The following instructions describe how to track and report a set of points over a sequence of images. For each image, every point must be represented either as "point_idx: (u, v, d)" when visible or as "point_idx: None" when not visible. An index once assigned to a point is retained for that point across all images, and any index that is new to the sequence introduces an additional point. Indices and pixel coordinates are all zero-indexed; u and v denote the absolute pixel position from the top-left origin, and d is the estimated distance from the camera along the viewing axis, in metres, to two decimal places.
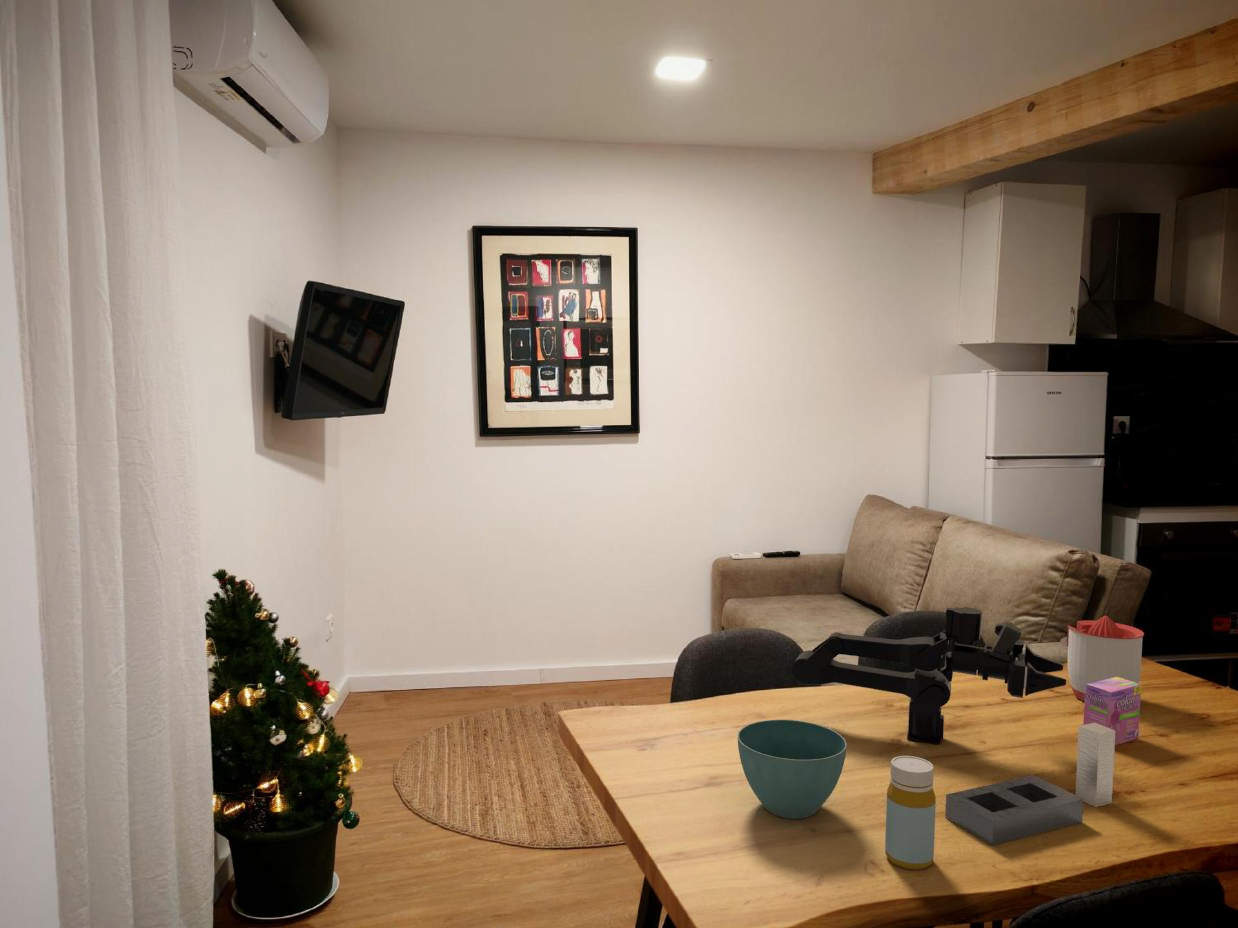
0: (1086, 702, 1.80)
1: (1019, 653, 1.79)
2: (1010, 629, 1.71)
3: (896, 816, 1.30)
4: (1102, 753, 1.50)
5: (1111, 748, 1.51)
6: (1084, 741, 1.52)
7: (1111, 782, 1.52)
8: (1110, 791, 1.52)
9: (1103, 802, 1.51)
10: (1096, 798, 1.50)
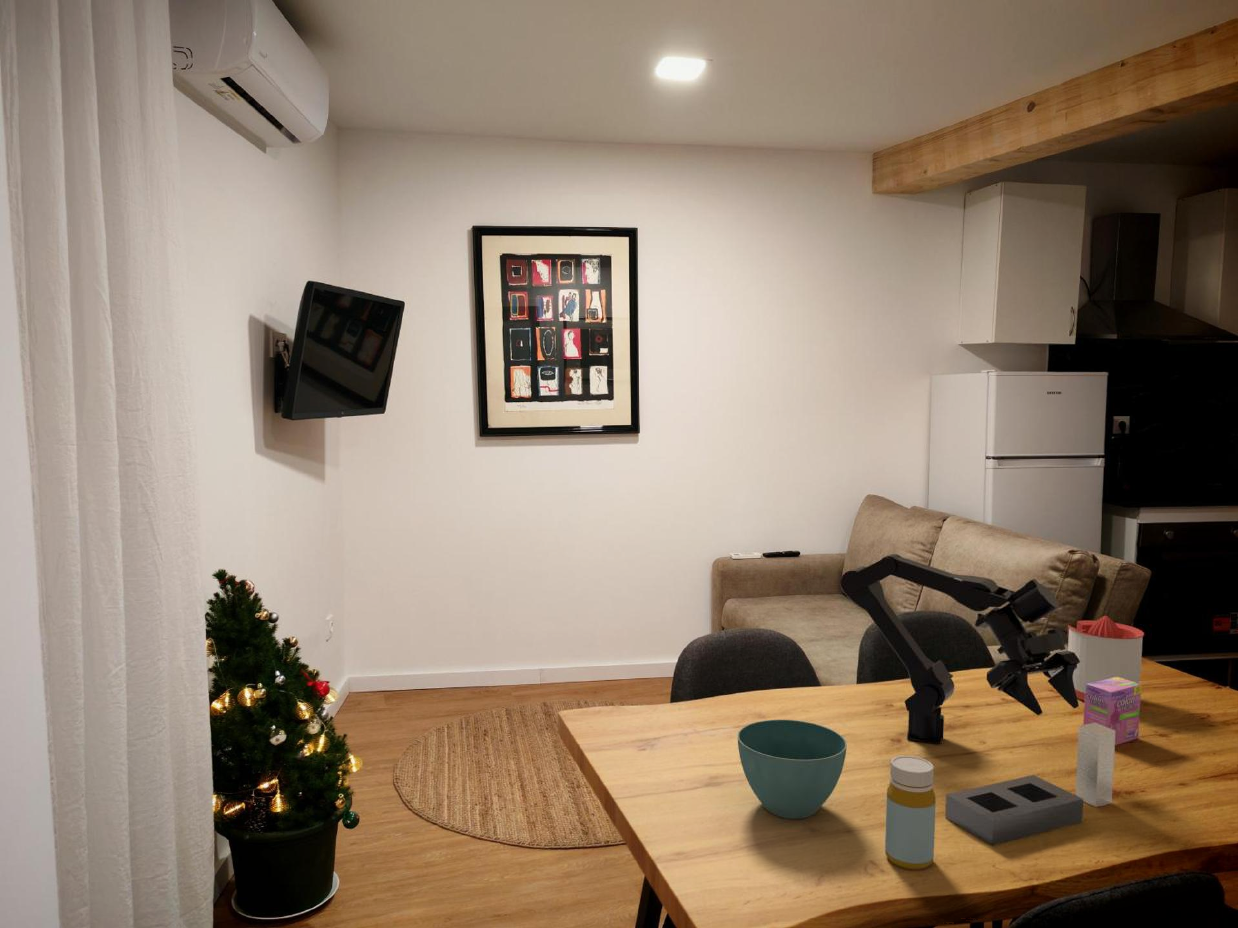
0: (1086, 702, 1.80)
1: (1062, 664, 1.66)
2: (1046, 640, 1.59)
3: (896, 816, 1.30)
4: (1102, 753, 1.50)
5: (1111, 748, 1.51)
6: (1084, 741, 1.52)
7: (1111, 782, 1.52)
8: (1110, 791, 1.52)
9: (1103, 802, 1.51)
10: (1096, 798, 1.50)
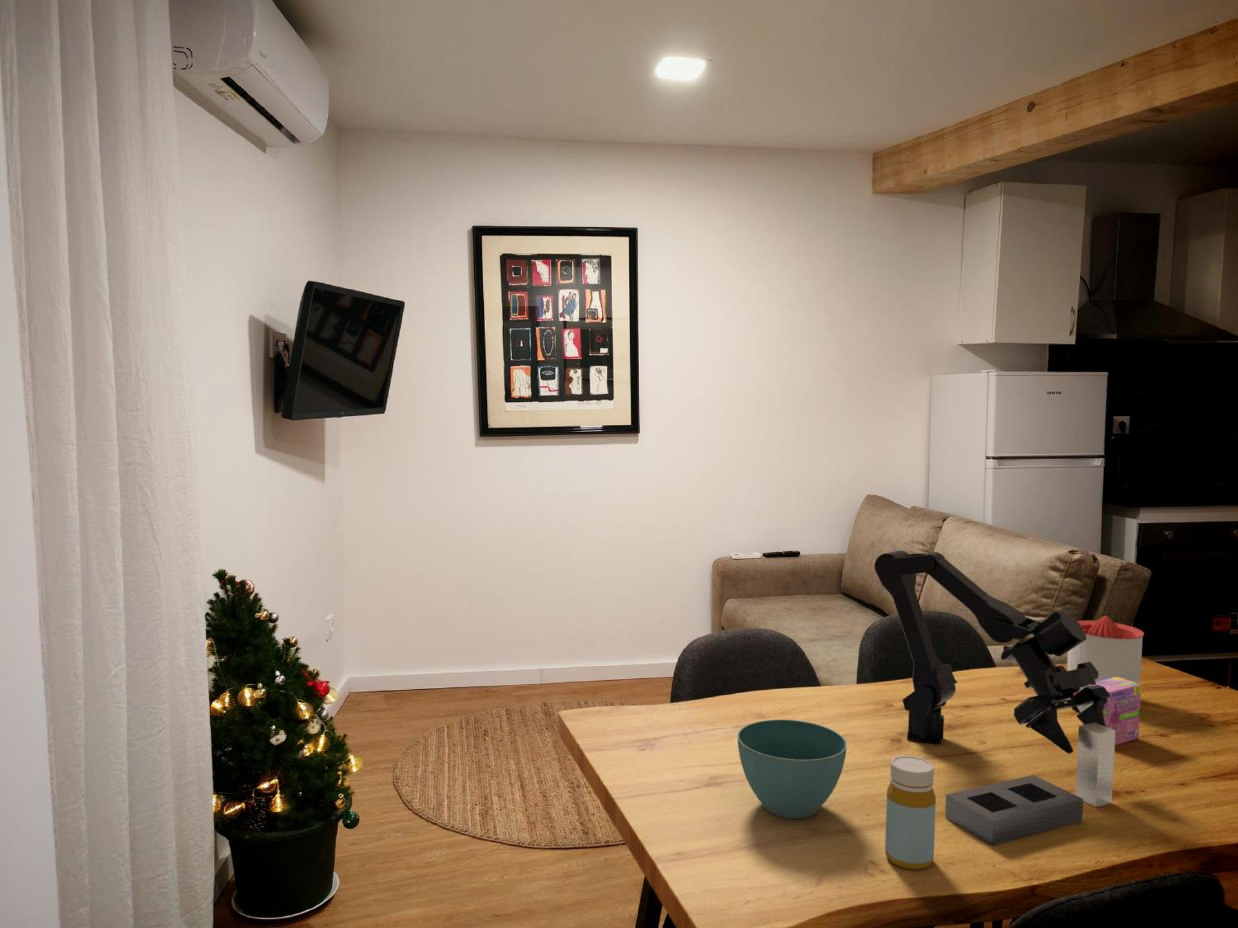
0: None
1: (1092, 699, 1.60)
2: (1076, 675, 1.53)
3: (896, 816, 1.30)
4: (1102, 753, 1.50)
5: (1111, 748, 1.51)
6: (1084, 741, 1.52)
7: (1111, 782, 1.52)
8: (1110, 791, 1.52)
9: (1103, 802, 1.51)
10: (1096, 798, 1.50)
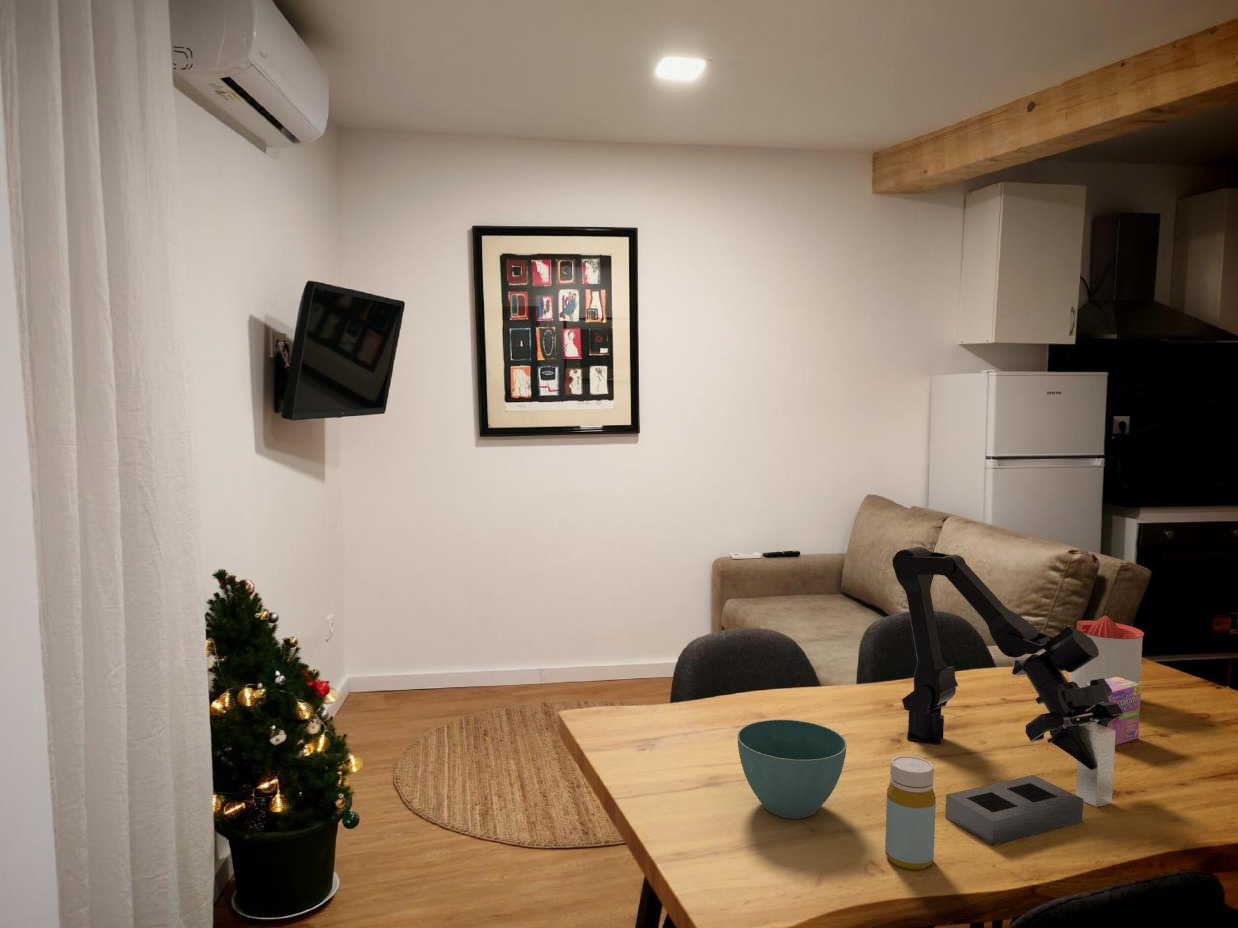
0: None
1: (1095, 718, 1.57)
2: (1089, 692, 1.51)
3: (896, 816, 1.30)
4: (1102, 753, 1.50)
5: (1111, 748, 1.51)
6: (1084, 741, 1.52)
7: (1111, 782, 1.52)
8: (1110, 791, 1.52)
9: (1103, 802, 1.51)
10: (1096, 798, 1.50)
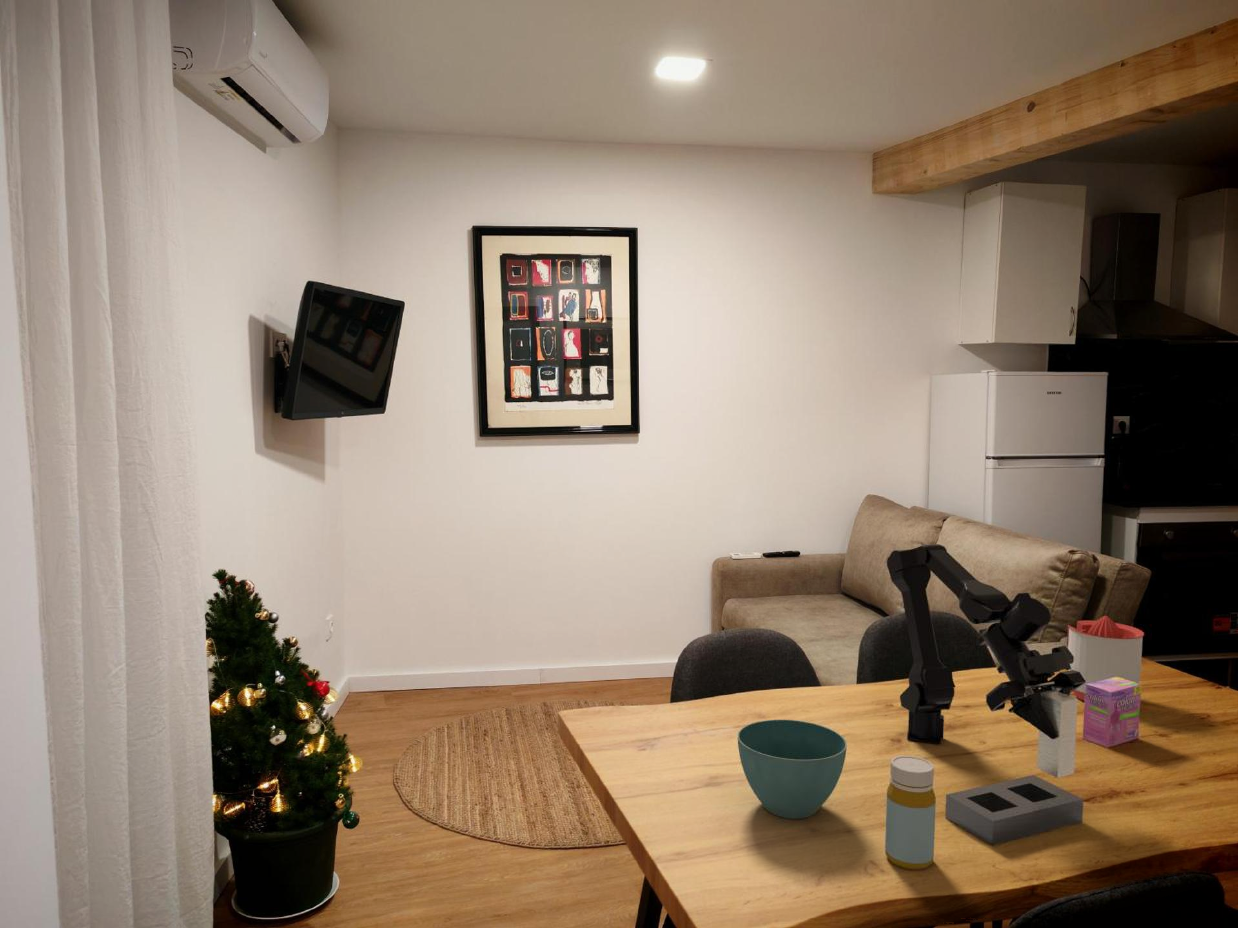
0: (1086, 702, 1.80)
1: (1057, 687, 1.53)
2: (1051, 659, 1.46)
3: (896, 816, 1.30)
4: (1064, 722, 1.46)
5: (1073, 717, 1.47)
6: (1046, 710, 1.48)
7: (1073, 752, 1.47)
8: (1072, 761, 1.47)
9: (1065, 772, 1.47)
10: (1058, 768, 1.46)
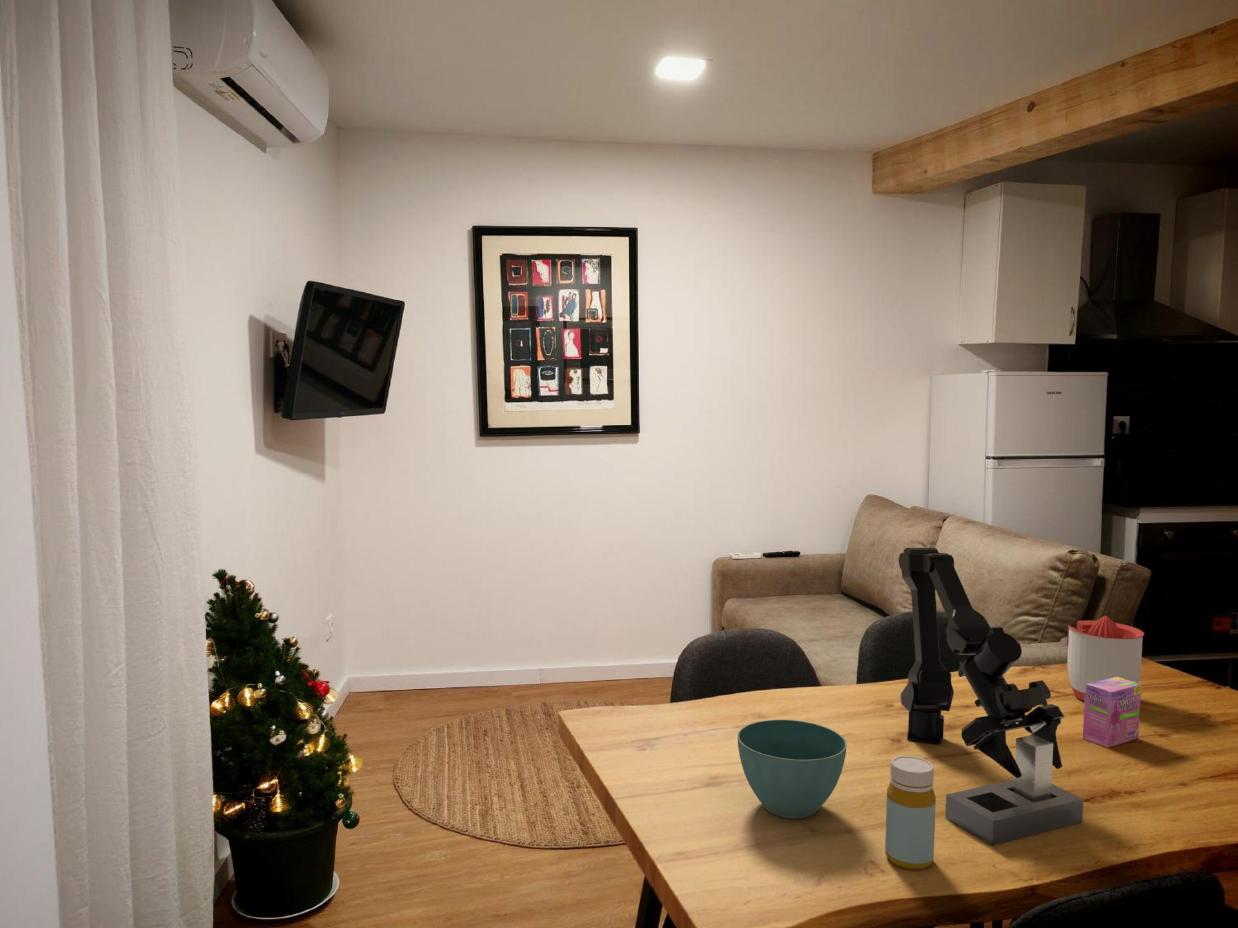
0: (1086, 702, 1.80)
1: (1045, 719, 1.52)
2: (1026, 695, 1.45)
3: (896, 816, 1.30)
4: (1039, 767, 1.44)
5: (1049, 761, 1.45)
6: (1021, 754, 1.46)
7: (1049, 797, 1.46)
8: None
9: None
10: None
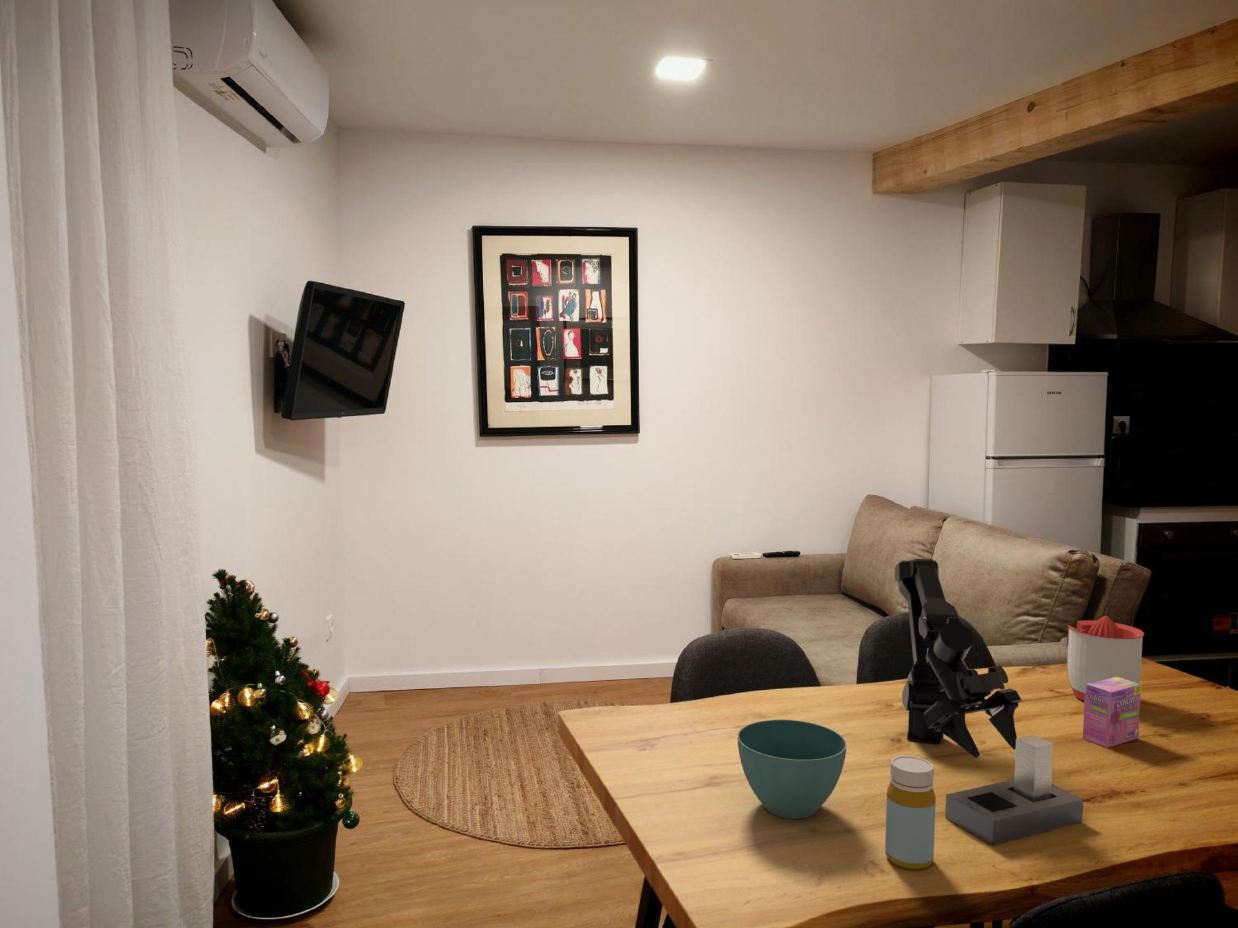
0: (1086, 702, 1.80)
1: (1003, 703, 1.60)
2: (984, 679, 1.53)
3: (896, 816, 1.30)
4: (1039, 767, 1.44)
5: (1049, 761, 1.45)
6: (1021, 754, 1.46)
7: (1049, 797, 1.46)
8: None
9: None
10: None
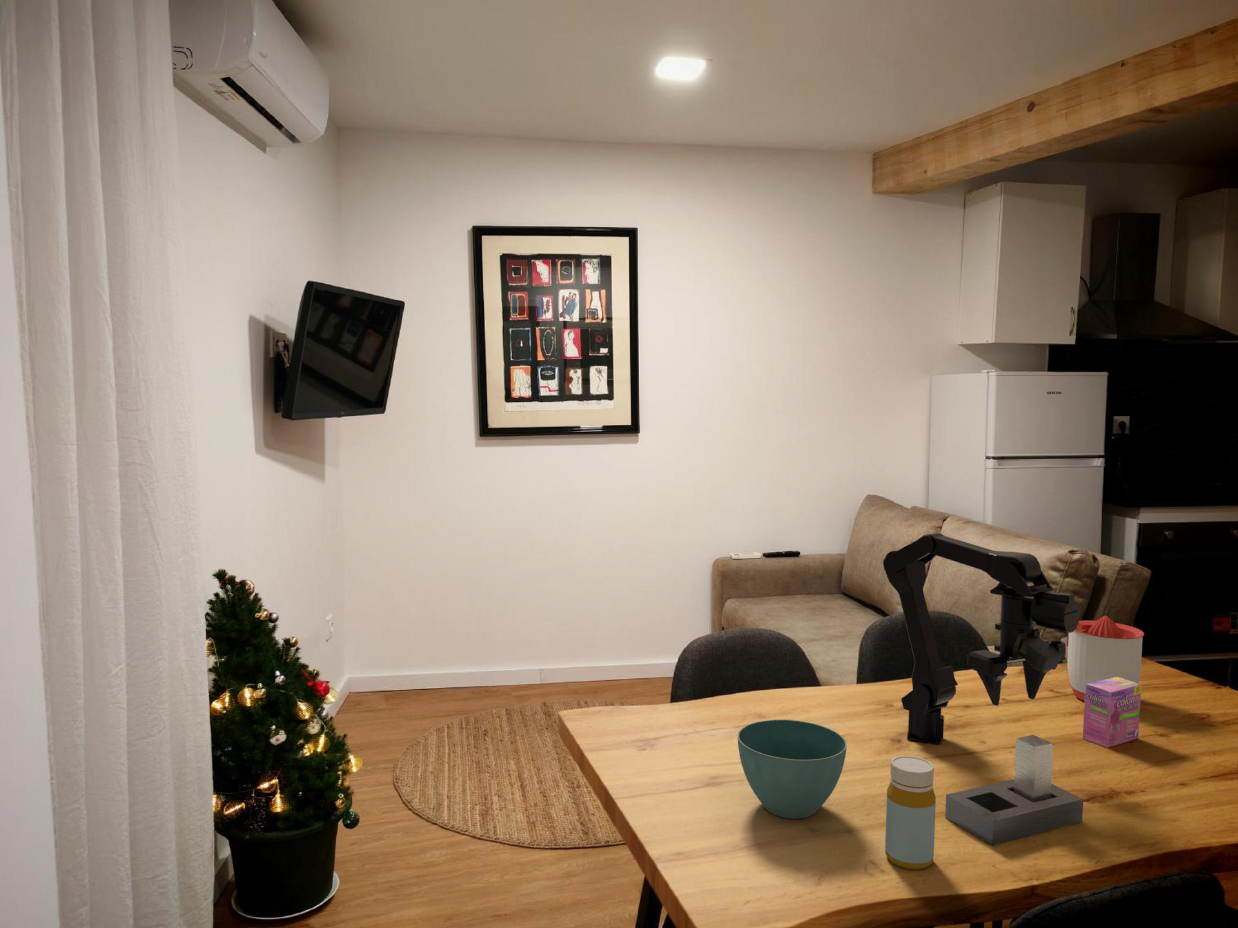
0: (1086, 702, 1.80)
1: None
2: (1043, 661, 1.56)
3: (896, 816, 1.30)
4: (1039, 767, 1.44)
5: (1049, 761, 1.45)
6: (1021, 754, 1.46)
7: (1049, 797, 1.46)
8: None
9: None
10: None
